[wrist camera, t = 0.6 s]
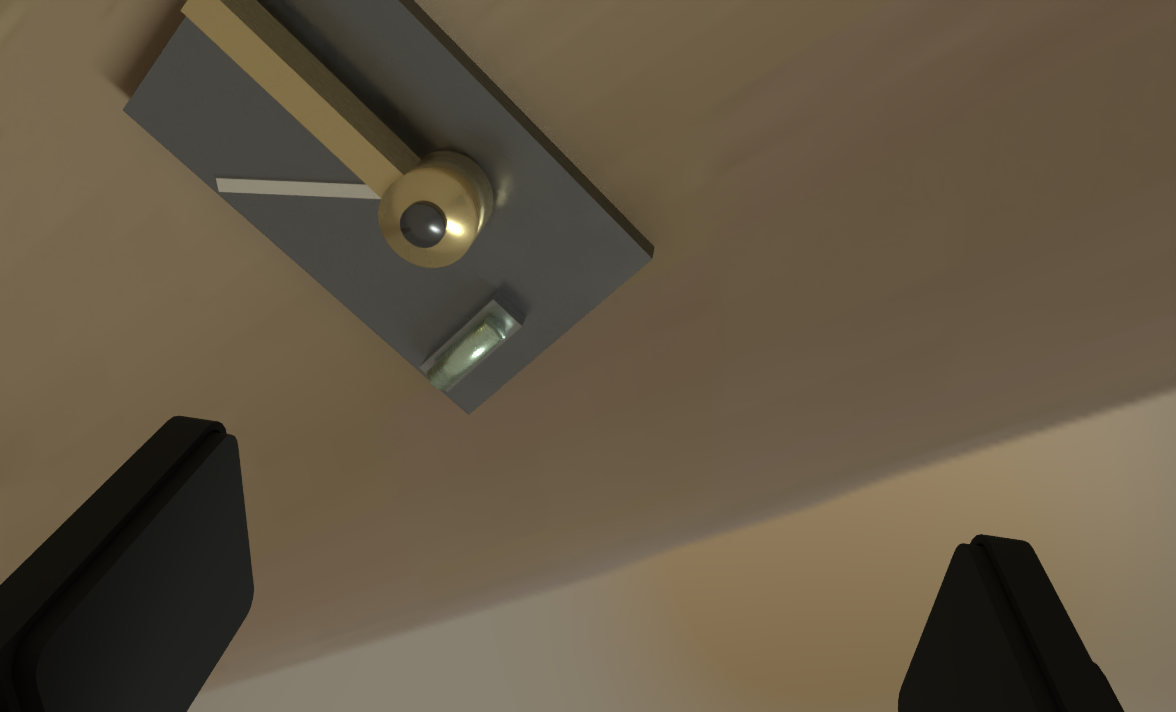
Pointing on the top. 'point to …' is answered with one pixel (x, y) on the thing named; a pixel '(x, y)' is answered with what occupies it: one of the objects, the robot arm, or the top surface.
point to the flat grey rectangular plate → (350, 208)
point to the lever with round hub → (357, 137)
